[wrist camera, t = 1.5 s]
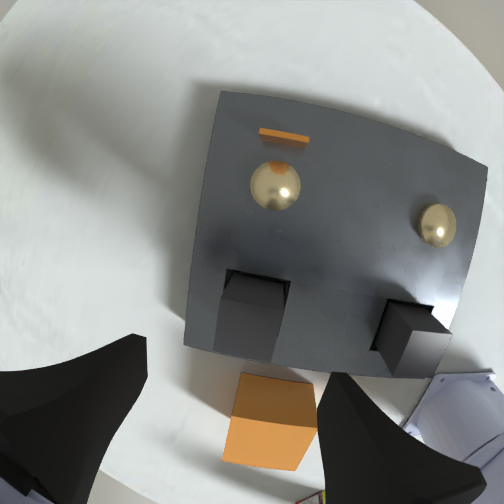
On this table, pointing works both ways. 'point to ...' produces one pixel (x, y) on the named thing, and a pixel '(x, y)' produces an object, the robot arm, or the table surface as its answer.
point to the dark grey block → (249, 318)
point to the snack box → (314, 499)
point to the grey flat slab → (330, 226)
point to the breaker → (411, 341)
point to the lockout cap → (271, 423)
